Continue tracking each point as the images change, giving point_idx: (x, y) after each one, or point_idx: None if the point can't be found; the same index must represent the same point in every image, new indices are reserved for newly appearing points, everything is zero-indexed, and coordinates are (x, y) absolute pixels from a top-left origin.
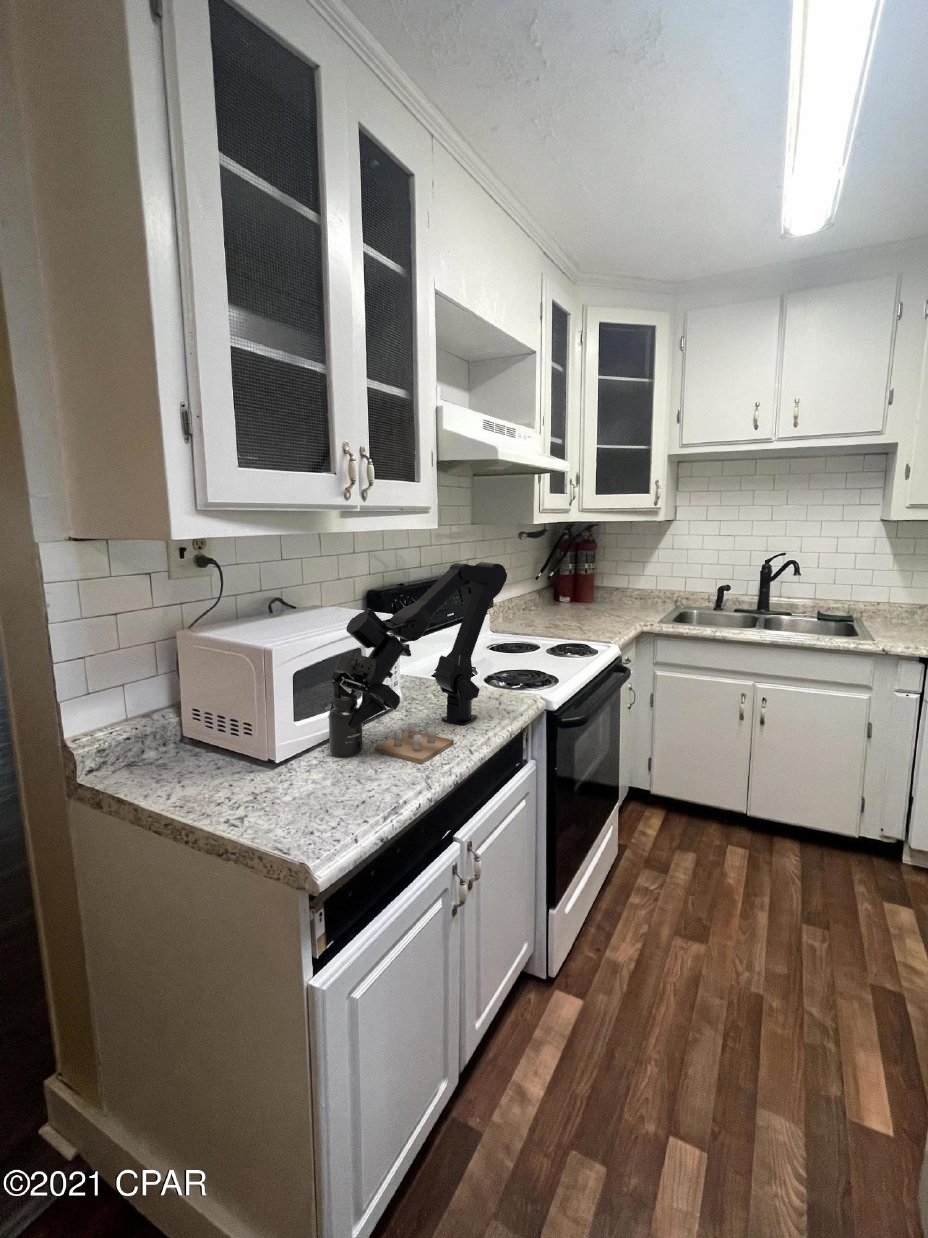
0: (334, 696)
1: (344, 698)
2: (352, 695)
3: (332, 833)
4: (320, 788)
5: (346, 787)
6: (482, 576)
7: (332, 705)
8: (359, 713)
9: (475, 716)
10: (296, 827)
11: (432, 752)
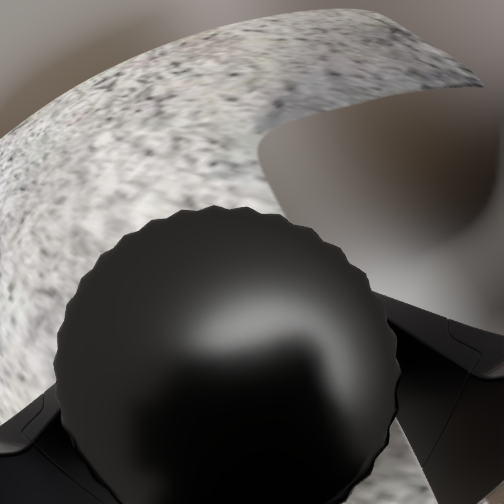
0: (308, 234)
1: (118, 318)
2: (199, 497)
3: None
4: (84, 200)
5: (48, 251)
6: None
7: (412, 313)
8: (50, 391)
9: None
10: (32, 143)
11: None
